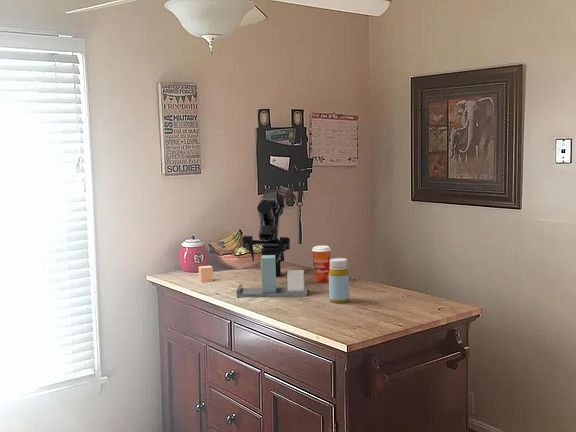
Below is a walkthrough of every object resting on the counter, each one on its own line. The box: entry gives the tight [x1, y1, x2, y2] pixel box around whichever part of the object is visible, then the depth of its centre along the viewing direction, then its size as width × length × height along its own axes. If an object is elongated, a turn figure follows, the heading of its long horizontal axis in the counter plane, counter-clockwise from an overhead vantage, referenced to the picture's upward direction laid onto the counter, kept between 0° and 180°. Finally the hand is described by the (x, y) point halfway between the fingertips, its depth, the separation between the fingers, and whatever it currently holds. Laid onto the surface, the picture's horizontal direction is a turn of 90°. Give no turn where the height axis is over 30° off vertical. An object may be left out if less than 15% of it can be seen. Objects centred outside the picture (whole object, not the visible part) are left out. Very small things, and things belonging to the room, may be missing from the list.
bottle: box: [328, 257, 350, 304], centre depth 246 cm, size 7×7×15 cm
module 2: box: [260, 254, 277, 293], centre depth 260 cm, size 6×5×13 cm
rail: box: [236, 269, 308, 298], centre depth 261 cm, size 26×10×8 cm, turn 87°
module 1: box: [198, 265, 214, 284], centre depth 287 cm, size 5×4×6 cm
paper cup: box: [311, 245, 332, 283], centre depth 279 cm, size 8×8×14 cm
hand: (264, 261), depth 269 cm, fingers open, 9 cm apart
